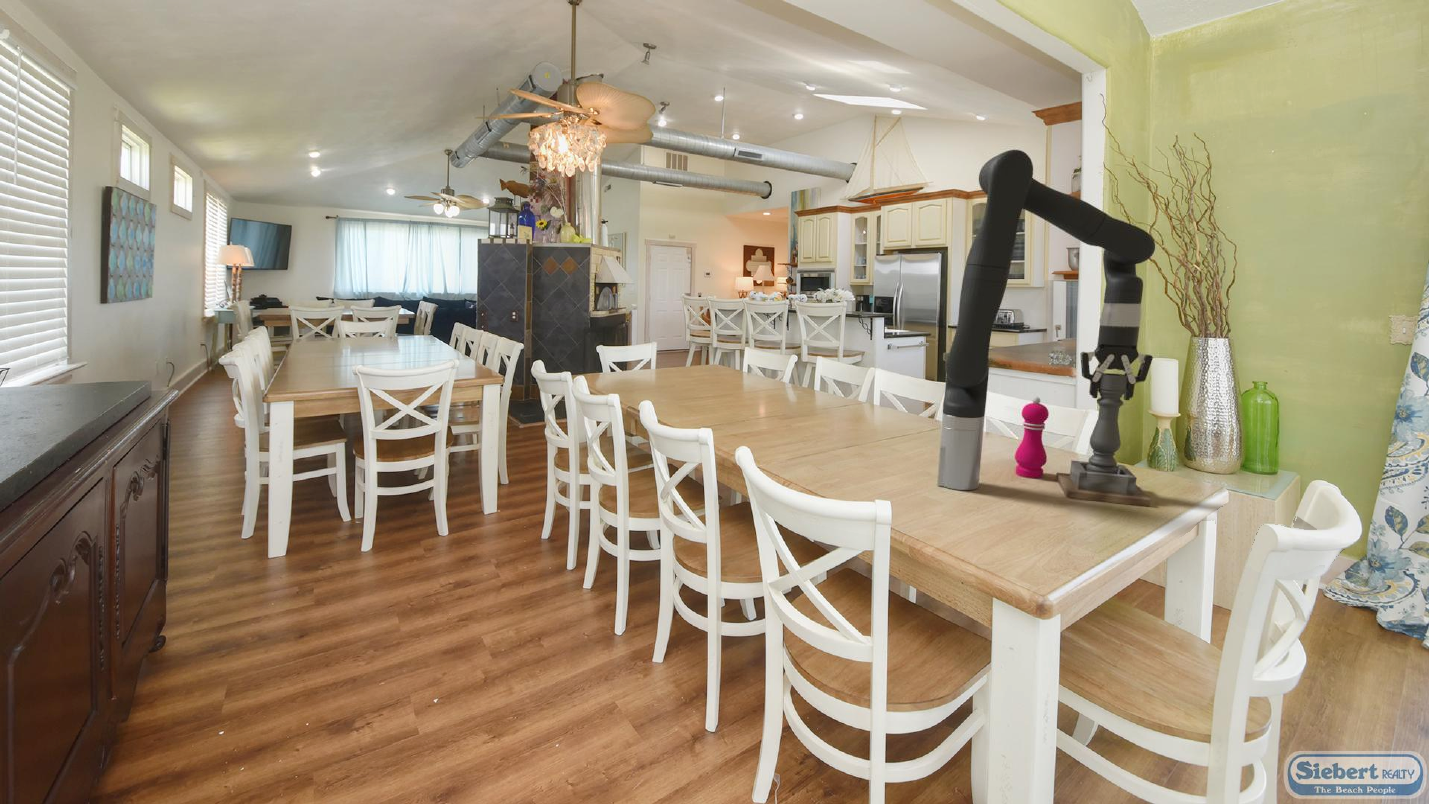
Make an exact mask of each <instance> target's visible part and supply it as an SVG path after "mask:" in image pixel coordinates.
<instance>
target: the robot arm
mask: <svg viewBox="0 0 1429 804" xmlns="http://www.w3.org/2000/svg"><path fill="white" fill-rule="evenodd" d="M1033 176H1034V165H1033V161H1032V159H1031V157H1030V156H1029V154H1027V153H1026V152H1025V151H1024V150H1020V149H1009V150H1006V151H1003V152H1001V153H999V154H998V155H997V154H996V156H994V157H992V158H990V159H988V161H986V162H984V163H983V166H982V167H981V169H980V171H979V174H978V184H979V187H980V188H981V191H982V192H983V193H984V194H985V195H987V199H986V203H985V210H984V214H983V217H982V221H981V224H980V226H979V229H978V231H977V233H976V235H975V238H974V239H973V242H972V244H971V247H970V249H969V252H968V255H967V258H966V262H965V267H964V271H963V277H962V281H961V282H962V283H961V289H960V297H959V308H958V318H957V319H958V320H957V325H956V331H955V334H954V337H953V340H952V342H951V346H950V349H949V353H948V355H947V358H946V361H945V364H944V371H945V373H946V376H945V387H944V388H945V390H944V397H943V403H942V418H941V419H942V420H941V429H940V431H941V432H940V433H941V434H940V443H939V445H940V446H939V455H938V457H939V458H938V469H937V470H938V471H937V485H936V486H939V487H944V488H948V489H952V490H958V491H970V490H971V491H972V490H976V489H978V488H979V484H980V475H981V474H980V473H981V461H982V451H983V441H984V440H983V439H984V429H985V428H984V426H985V414H986V408H987V406H986V405H987V396H988V385H989V384H988V383H989V373H990V360H989V355H990V353H989V352H990V344H991V338H992V331H993V327H994V324H995V321H996V319H997V315H998V312H999V310H1000V308H1001V306H1002V305H1001V304H1002V301H1003V299H1004V295H1005V292H1006V289H1007V283H1008V280H1009V275H1010V271H1011V265H1012V259H1013V255H1014V249H1015V245H1016V238H1017V233H1018V228H1019V227H1018V226H1019V222H1020V219H1021V214H1022V211H1023V210H1025V211H1027V212H1029V213H1031V214H1033V215H1035V216H1037V217H1039V218H1040V219H1042V220H1045V221H1046V222H1047V223H1050V224H1051V225H1053V226H1055V227H1056V228H1057V229H1060V230H1061V231H1063V232H1065V233H1067V234H1068V235H1069V236H1071V237H1073V238H1075V239H1076V240H1079V241H1080V242H1082V243H1084V244H1085V245H1088V246H1092V247H1098V248H1101V249H1103V255H1102V259H1103V260H1102V263H1103V271H1104V272H1103V273H1104V279H1105V288H1104V289H1105V290H1104V297H1103V298H1104V299H1103V304H1102V309H1101V313H1100V318H1099V330H1098V338H1097V346H1096V348H1095V349H1094V351H1088V352H1086V351H1082V352H1080V366H1081V367H1080V368H1081V376H1082V377H1083V378H1084V379H1085V380H1089V381H1090V382H1089V383H1090V384H1089V392H1088V394H1089V396H1091V398H1093V399H1098V394H1099V391H1098V388H1099V382H1098V380H1099V379H1100V377H1101V375H1102V374H1103V373H1106V371H1107V370H1118V371H1122V374H1124V375H1127V376H1128V381H1127V389H1126V390H1125V391H1124V392H1125V393H1124V394H1123V400H1124V401H1130V399H1132V398H1133V397H1134V391H1135V385H1136V384H1137V383H1141V382H1145V381H1146V379H1147V376H1148V374H1149V371H1150V367H1151V364H1152V362H1153V359H1154V358H1153V356H1152V355H1151V354H1147V353H1145V354H1144V353H1139V351H1138V341H1139V332H1140V327H1141V318H1142V300H1143V292H1144V280H1143V279H1142V278H1141V277H1139V276H1138V275H1137V267H1136V265H1138V264H1142V263H1144V262H1146V261H1148V260H1149V259H1150V258H1151V257H1152V256H1153V255H1154V253H1155V251H1156V243H1155V240H1154V237H1153V236H1152V235H1151V234H1150V233H1149V232H1148V231H1146V230H1145V229H1142V228H1141V227H1139V226H1136V225H1133V224H1131V223H1129V222H1126V221H1123V220H1120V219H1118V218H1115V217H1112V216H1110V215H1109V214H1107V213H1106V212H1104V211H1103V210H1101V209H1100V208H1097V207H1096V206H1094V205H1092V204H1090V203H1089V202H1086V201H1085V200H1083V199H1080V198H1078V197H1076V196H1073V195H1070V194H1067V193H1065V192H1061V191H1059V190H1056V189H1054V188H1052V187H1049V186H1048V185H1046V184H1044V183H1041V182H1040V181H1038V180H1036V179H1035V178H1034V177H1033ZM1093 358H1096V360H1097V362H1098V364H1097V366H1096V367H1095V370H1094V371H1093V373H1092V374H1091V373H1090V370H1091V369H1090V362H1092V360H1093ZM1136 359H1138V363H1139V364H1140V365H1139V368H1138V371H1137V375H1136V376H1135V374H1134V371H1133V368H1132V366H1131V364H1132V363H1133V362H1135V361H1136Z"/></svg>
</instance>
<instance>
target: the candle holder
mask: <svg viewBox="0 0 1429 804" xmlns="http://www.w3.org/2000/svg"><path fill="white" fill-rule="evenodd" d="M1127 381H1128V376H1127V375H1125V374H1124V373H1114V372H1113V373H1111V372H1104V373H1103V374H1102V375H1101V377H1100V379H1099V380H1098V382H1099V388H1098V394H1099V396H1100V397H1099V398H1096V403H1097V405H1098V406H1099V408H1098V414H1097V420H1096V423H1095V426H1094V428H1093V429H1092V433H1091V435H1090V438H1089V445H1090V447H1091V450H1092V455H1091V456H1090V457H1089V458H1088V462H1089V463H1090V464H1088V465H1087V466H1086V471H1087V472H1098V473H1108V474H1117V468H1115V466H1116V465H1118V462H1117V461H1116V458H1114V456H1115V455H1116V454H1115V453H1117V452H1118V450H1119V449H1120V447H1121V444H1122V443H1121V434H1120V428H1119V421H1118V420H1119V413H1120V408H1121V407H1122V406H1124V401H1123V400H1121V398H1122V397H1123V396H1124V393H1125V392H1124V391H1125V390H1126V389H1127Z"/></svg>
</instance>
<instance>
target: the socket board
mask: <svg viewBox="0 0 1429 804" xmlns="http://www.w3.org/2000/svg"><path fill="white" fill-rule="evenodd" d="M1088 464H1090V463H1089V461H1080V460H1071V462H1070V473H1064V472H1056V476H1055V479H1056V481H1057V483H1058V484H1059V487H1060V489H1061V490H1062V491H1063V494H1064V496H1065V498H1067V499H1076V500H1084V501H1095V502H1103V503H1112V504H1113V503H1114V504H1120V505H1121V504H1122V505H1130V504H1133V505H1132V506H1140V505H1141V507H1151V501H1152V499H1151V498H1149V496H1148V495H1147V494H1145V492H1144V491H1143V490H1142V489H1141V488H1140V487H1139V486H1138V485H1137V477H1136V475H1134V474H1133V472H1132V471H1130V470H1129V468H1128V467H1127V466H1125V464H1117V465H1116V466H1115V468H1117V474H1108V473H1098V472H1087V471H1086V466H1087V465H1088Z"/></svg>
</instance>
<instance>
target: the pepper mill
mask: <svg viewBox="0 0 1429 804" xmlns="http://www.w3.org/2000/svg"><path fill="white" fill-rule="evenodd" d="M1049 414H1050V413H1049V409H1048V408H1047V407H1046V406H1045V405H1044V404H1042V403H1041V399H1040V397H1039V396H1036V397H1033V398H1032V402H1030V403H1027V404H1026V405H1024V406H1023V408H1022V410H1021V416H1022V419H1024V421H1023V422H1022V428H1024V429H1023V430H1024V432H1023V437H1022V441H1020V442H1021V443H1019V445H1018V447H1017V449H1016V451H1015V454H1014V460H1015V461H1016V463H1017V464H1018V465H1016V466H1015V474H1016V475H1017V476H1019V477H1023V478H1027V479H1028V478H1029V479H1040V478H1042V477H1043V476H1044V469H1043V468H1042V467H1043V466H1044V465H1046V463H1047V457H1048V456H1047V452H1046V450H1045V447H1044V444H1043V439H1042V437H1043V431H1044V430H1045V429H1046V428H1045V426H1046V423H1045V421H1047V420H1048V418H1049Z"/></svg>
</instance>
